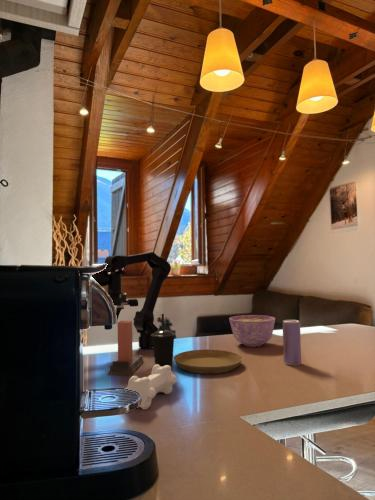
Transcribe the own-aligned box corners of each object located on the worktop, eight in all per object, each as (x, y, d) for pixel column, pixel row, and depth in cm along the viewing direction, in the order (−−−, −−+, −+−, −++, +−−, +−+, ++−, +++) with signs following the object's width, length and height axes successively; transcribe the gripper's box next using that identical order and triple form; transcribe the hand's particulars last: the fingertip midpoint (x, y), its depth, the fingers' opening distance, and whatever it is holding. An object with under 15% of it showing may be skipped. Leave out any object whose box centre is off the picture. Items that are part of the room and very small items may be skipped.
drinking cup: (169, 381, 115) (167, 316, 116) (147, 378, 118) (146, 315, 119) (180, 374, 122) (178, 312, 123) (159, 372, 125) (158, 312, 126)
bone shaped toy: (153, 391, 108) (150, 363, 109) (179, 392, 105) (176, 362, 105) (123, 410, 95) (120, 377, 95) (152, 412, 91) (149, 378, 92)
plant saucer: (247, 359, 139) (247, 350, 140) (235, 379, 117) (235, 368, 117) (186, 356, 147) (185, 347, 147) (163, 373, 124) (163, 363, 124)
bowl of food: (225, 348, 157) (224, 321, 157) (234, 339, 176) (233, 314, 176) (274, 351, 151) (273, 322, 151) (278, 340, 170) (277, 315, 170)
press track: (122, 361, 139) (122, 351, 140) (143, 362, 139) (143, 351, 139) (108, 374, 124) (108, 362, 124) (131, 374, 123) (131, 362, 123)
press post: (121, 363, 132) (120, 320, 133) (134, 363, 132) (133, 320, 132) (116, 367, 127) (115, 322, 128) (130, 367, 127) (129, 322, 127)
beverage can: (297, 366, 127) (296, 322, 128) (281, 364, 131) (279, 321, 131) (303, 362, 132) (302, 320, 133) (287, 360, 136) (286, 319, 136)
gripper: (90, 288, 143) (90, 329, 142) (139, 286, 147) (139, 326, 147) (91, 286, 154) (91, 324, 153) (136, 285, 158) (137, 322, 157)
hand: (115, 324), depth 152 cm, fingers closed
